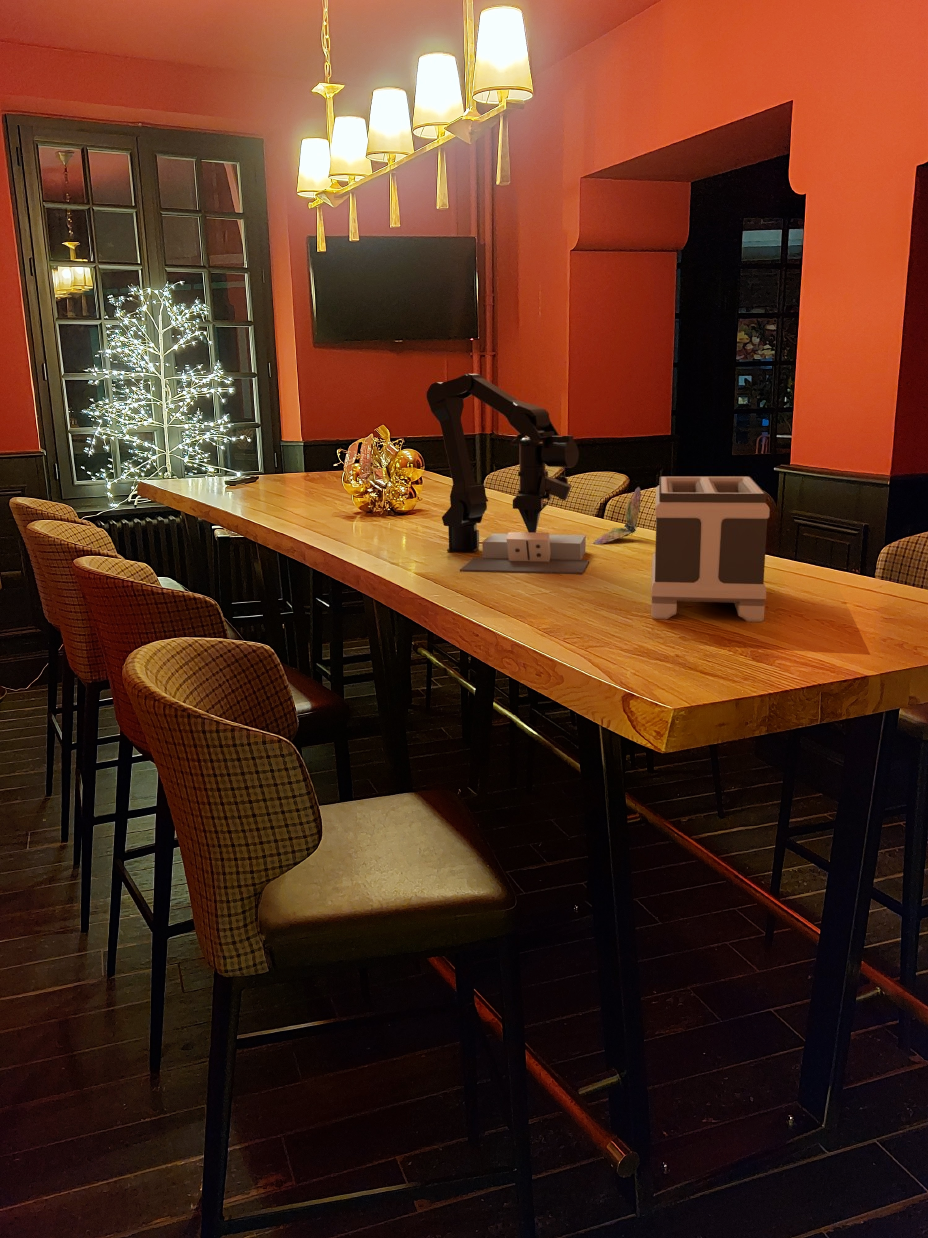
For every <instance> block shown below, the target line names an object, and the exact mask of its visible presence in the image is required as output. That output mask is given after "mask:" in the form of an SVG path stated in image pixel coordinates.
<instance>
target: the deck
mask: <svg viewBox="0 0 928 1238" xmlns="http://www.w3.org/2000/svg"><path fill="white" fill-rule="evenodd" d="M507 535H508V533H491V534H490V535H489V536H487V538H485V539H483V540H482V543H481V544H482V558H509V557H508V549H507V540H506V539H507ZM586 535H587V534H551V533H549V539H550V552H551V556H550V559H562V560H583V557H584V555H585V554H586V541H587V540H586V539H587V537H586Z"/></svg>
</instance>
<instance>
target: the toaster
mask: <svg viewBox="0 0 928 1238" xmlns="http://www.w3.org/2000/svg"><path fill="white" fill-rule="evenodd" d="M658 484H659V485H657V486H656V488H655V503H654V504H655V510H654V512H655V513H654V514H655V515H654V517H655V518H656V520H655V523H656V524H655V551H654V552H653V555H652V560H651V561H652V563H651V589H650V591H651V593H650V594H651V609H650V610H651V612H650V616H651V618H652V619H654V620H668V619H670V618H671V617H673V616H676V615H677V613H678V611H677V610H678V602H689V603H691V602H692V603H693V602H694V603H695V602H699V603H727V604H728V603H729V604H730V603H731V604H732V603H733V604H734V608H735V610H736V612H737V616H738V617H740V618H742V619H743V620H744V621H746V622H749V623H751V622H752V623H761V622H763V621H764V618H765V605H766V600H767V587H766V584H765V583H764V582H765V581H764V580H765V579H764V578H765V563H766V547H767V546H766V545H767V532H768V531H767V529H768V519H769V518H770V511H771V510H770V507H769V506H768V504H767V503H766V499H767V494H766V492H765V491H764V490H763V489H762V488H761V487H760V486H759V485H758V484H757V483H756V481H755V480H753V478H752V477H751V476H659V481H658Z"/></svg>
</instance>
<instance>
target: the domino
mask: <svg viewBox="0 0 928 1238" xmlns="http://www.w3.org/2000/svg"><path fill="white" fill-rule="evenodd" d="M507 534H508V535H507V539H506V540H507V549H508V557H509V561H542V562H549V561H550V556H551V552H550V539H549V534H550V532H536V533H531V532H528V531H527V532H525V531H524V532H523V531H519V532H518V531H508V532H507Z"/></svg>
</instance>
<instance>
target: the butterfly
mask: <svg viewBox="0 0 928 1238" xmlns="http://www.w3.org/2000/svg"><path fill="white" fill-rule="evenodd" d="M641 498H642V494H641V487H640V486H637V487H636V488H635V490H634V493H633V495H632V497H630V498H628V499H627V502H626V506H625V511H624V517H625V519H626V523H625V524H624V527H612V528H610V529H609V530H607V531H606V532H604V533H603V534H602V535H601V536H599V537H598V538H596V539H595V540H594V541H593V545H594V544H595V545H603V544H606V543H610V542H613V541H617V540H620V539H623V538H626V537H628V536H629V535H631V536H633V534H635V532H636V531H637V528H638V526H637V524H638V517H639V514H640V510H641V509H640V508H641V506H640V505H641ZM642 526H645V524H642V525H641V527H642ZM633 540H634V539H632V541H631V542H632V543H633V542H634V541H633Z"/></svg>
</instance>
